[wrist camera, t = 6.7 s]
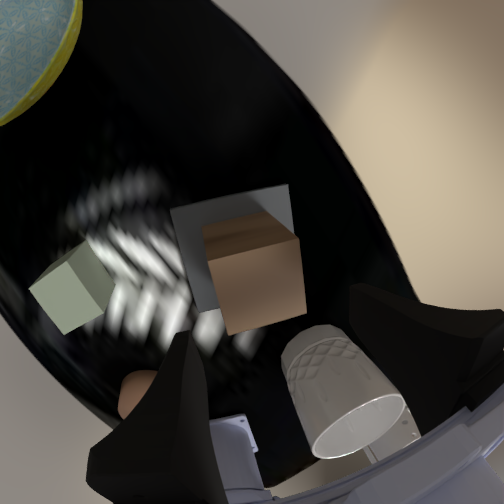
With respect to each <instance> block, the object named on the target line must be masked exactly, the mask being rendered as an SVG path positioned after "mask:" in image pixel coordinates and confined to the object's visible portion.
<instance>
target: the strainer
mask: <svg viewBox="0 0 504 504" xmlns="http://www.w3.org/2000/svg"><path fill="white" fill-rule="evenodd" d="M412 434H414V435H415V437H412ZM419 438H421V435H420V433H419V430H418V428H417V425H416V423H415V421H414V419H413V417H412V415H411V414H410V411H409V409H408V407H407V405H406V404H405V408H404V410H403V412H402V414H401V416H400V417H399V419H398V420H397V421H396V422H395V424H394V425H393V426H392V427H391V428H390V429H389V430H388V431H387V432H385V433H384V434H383V435H382V436H381V437H379V438H378V439H376V440H375V441H374V442H372V443H370V444H369V446H370V447H371V449H372V451H373V452H374V454H375V456H376V457H377V459H378V460H379V461H380V460H382V459H384V458H386V457H388V456H390V455H392V454H393V453H395V452H397V451H399V450H401V449H402V448H404V447H406V446H407V445H409V444H411V443H412V442H414V441H416V440H417V439H419ZM363 450H364V451H365V453H366V455H367V456H368V458H369V460H370V462H371V463H372V464H374V463H376V462H377V461H376V460H375V458H374V456H373V455H372V453H371V451H370V450H369V448H368V446H365V447H363Z"/></svg>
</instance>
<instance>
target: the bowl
mask: <svg viewBox="0 0 504 504" xmlns="http://www.w3.org/2000/svg"><path fill="white" fill-rule="evenodd" d="M82 10H83V2H82V0H0V126H2V125H4V124H6V123H8V122H9V121H11V120H13V119H14V118H16V117H18V116H19V115H20V114H22V113H23V112H25V111H26V110H27V109H28V108H30V107H31V106H32V105H33V104H34V103H36V102H37V101H38V100H39V99H40V98H41V97H42V96H43V95H44V94H45V92H46V91H47V90H48V89H49V88H50V87H51V85H52V84H53V83H54V82H55V80H56V79H57V77H58V76H59V75H60V73H61V72H62V70H63V68H64V67H65V65H66V63H67V61H68V59H69V57H70V55H71V53H72V51H73V49H74V46H75V44H76V41H77V38H78V35H79V32H80V27H81V21H82Z"/></svg>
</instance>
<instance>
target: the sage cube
mask: <svg viewBox="0 0 504 504" xmlns="http://www.w3.org/2000/svg"><path fill="white" fill-rule="evenodd" d="M115 285H116V284H115V283H114V281H113V280H112V279H111V277H110V276H109V274H108V273H107V271H106V270H105V268H104V267H103V265H102V264H101V262H100V261H99V259H98V258H97V256H96V255H95V253H94V251H93V250H92V248H91V247H90V245H89V243H88V242H87V240H85V241H84V242H82V243H81V244H79V245H78V246H76V247H75V248H74V249H72V250H71V251H69V252H68V253H66V254H65V255H64V256H62V257H61V258H59V259H58V260H57V261H55V262H54V263H53V264H51V265H50V266H49V267H48V268H47V269H46V270H45V271H44V272H43V273H42V275H41V276H40V277H39V278H38V279H37V280H36V281H35V282H34V283H33V284H32V285H31V287H30V288H29V290H30V291H31V293H32V294H33V295H34V297H35V298H36V300H37V301H38V302H39V304H40V305H41V306H42V308H43V309H44V310H45V312H46V313H47V314H48V316H49V317H50V318H51V319H52V321H53V322H54V323H55V324H56V326H57V327H58V328H59V329H60V331H61V332H62V333H63V334H64V335H65V334H66V333H68V332H70V331H72V330H74V329H75V328H77V327H79V326H81V325H83V324H84V323H86V322H88V321H90V320H92V319H94V318H95V317H97V316H99V315H101V314H103V313H104V311H105V309H106V306H107V304H108V301H109V299H110V297H111V294H112V292H113V290H114V288H115Z"/></svg>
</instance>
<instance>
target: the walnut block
mask: <svg viewBox="0 0 504 504" xmlns="http://www.w3.org/2000/svg"><path fill="white" fill-rule="evenodd" d="M201 228H202V233H203V239H204V245H205V250H206V256H207V261H208V265H209V269H210V272H211V276H212V280H213V283H214V287H215V291H216V294H217V298H218V301H219V305H220V308H221V312H222V315H223V319H224V322H225V326H226V329H227V333H228V335H232V334H236V333H240V332H244V331H247V330H251V329H255V328H258V327H262V326H265V325H269V324H272V323H276V322H279V321H283V320H286V319H289V318H293V317H296V316H299V315H302V314H305V313H307V310H306V299H305V289H304V280H303V271H302V262H301V253H300V245H299V238H298V237H297V236H296V235H294V234H293V233H292V232H291V231H290V230H289V229H287V228H286V227H285V226H284V225H283V224H282V223H280V222H279V221H278V220H277V219H276V218H275V217H273V216H272V215H271V214H270V213H269V212H267V211H264V212H259V213H255V214H251V215H246V216H242V217H238V218H234V219H230V220H225V221H221V222H217V223H213V224H209V225H205V226H201Z"/></svg>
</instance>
